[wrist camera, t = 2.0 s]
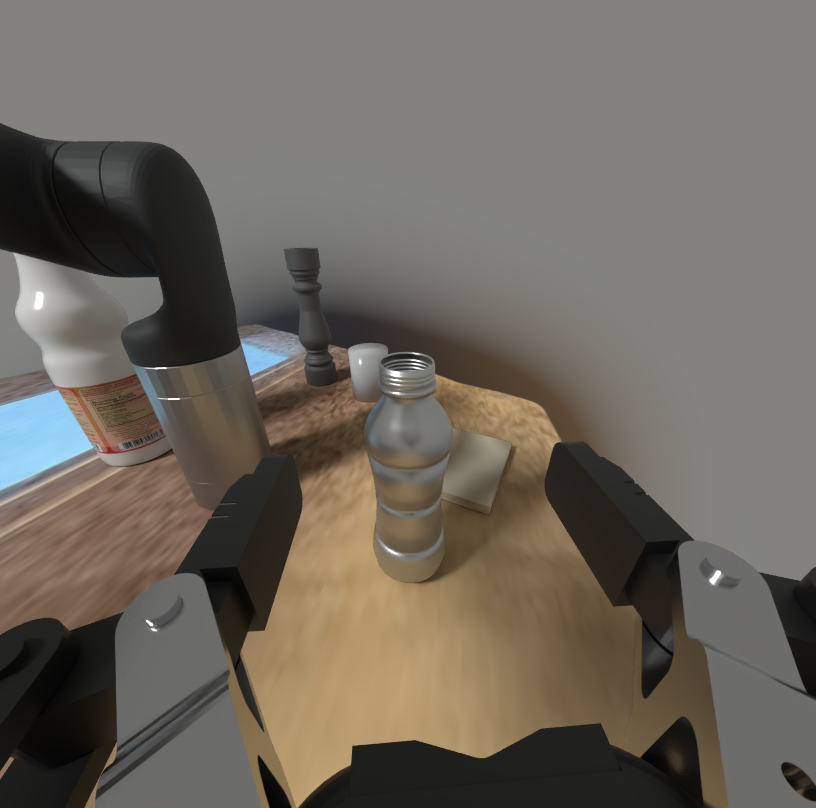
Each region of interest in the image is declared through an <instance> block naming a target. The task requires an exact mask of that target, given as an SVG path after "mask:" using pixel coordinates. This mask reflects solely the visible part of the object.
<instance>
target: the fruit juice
mask: <svg viewBox="0 0 816 808" xmlns="http://www.w3.org/2000/svg"><path fill="white" fill-rule="evenodd" d="M13 254H14V256H15V258H16V262H17V266H18V272H19V279H20V296H19V299H18V302H17V305H16V309H15V314H16V318H17V320H18V322H19V324H20V326H21V328H22V329H23V330H24V332H26V333H27V335H28V336H30V337H31V338H32V339H33V340H34V341H35V342H36V343H37V344H38V345H39V346H40V348H41V349H42V353H43V364H44V366H45V368H46V371H47V373H48V374H49V376H50V378H51V380H52V382H53V383H54V385H55V386H56V388H57V389H58V391H59V392H60V394H61V396H62V397H63V399H64V400H65V402H66V404H67V405H68V407H69V408H70V410H71V412H72V413H73V415H74V417H75V418H76V420H77V421H78V423H79V425H80V426H81V428H82V429H83V431H84V433H85V434H86V436H87V437H88V439H89V441H90V442H91V444H92V445H93V447H94V449H95V450H96V452H97V454H98V455H99V457H100V458H101V459H102V460H103V461H104V462H105V463H107V464H109V465H111V466H130V465H135V464H139V463H143V462H146V461H149V460H151V459H154V458H156V457H158V456H160V455H162V454H164V453H166V452H167V451H169V450H170V449H172V448H171V445H170V443H169V441H168V439H167V437H166V435H165V433H164V430H163V428H162V426H161V424H160V422H159V420H158V418H157V416H156V413H155V411H154V409H153V407H152V405H151V403H150V401H149V399H148V396H147V394H146V392H145V391H144V388H143V386H142V384H141V382H140V380H139V378H138V376H137V374H136V372H135V369H134V367H133V365H132V363H131V361H130V359H129V357H128V355H127V353H126V351H125V349H124V346H123V344H122V341H121V332H122V331H123V329H124V328H125V327H127V326H128V325H129V322H128V316H127V313H126V311H125V309H124V307H123V305H122V304H121V303H120V301H118V299H116V298H115V297H114V296H113V295H111V294H110V293H108V292H107V291H106V290H104V289H103V288H102V287H100V286H99V285H98V284H97V283H96V282H95V281H94V280H93V279H92V278H91V277H90V276H89V275H88V274H87V272H85V271H81V270H77V269H73V268H70V267H66V266H62V265H58V264H55V263H51V262H47V261H44V260H40V259H36V258H32V257H29V256H25V255H21V254H17V253H13Z"/></svg>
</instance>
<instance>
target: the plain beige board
mask: <svg viewBox="0 0 816 808" xmlns="http://www.w3.org/2000/svg"><path fill="white" fill-rule="evenodd" d="M452 429H453V442H452V447H451V451H450V455H449V459H448V463H447V467H446V471H445V475H444V482H443V489H442V497H441V499H444V500H447V501H449V502H452V503H455V504H458V505H461V506H464V507H467V508H470V509H472V510H475V511H478V512H481V513H484V514H487V515H489V514H490V511H491V508H492V505H493V502H494V499H495V496H496V493H497V490H498V487H499V484H500V481H501V478H502V475H503V472H504V469H505V466H506V463H507V460H508V457H509V454H510V451H511V448H512V442H508V441H503V440H499V439H495V438H491V437H487V436H483V435H479V434H475V433H471V432H467V431H463V430H459V429H455V428H452ZM372 475H373V472H372Z"/></svg>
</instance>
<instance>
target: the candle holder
mask: <svg viewBox="0 0 816 808" xmlns="http://www.w3.org/2000/svg"><path fill="white" fill-rule="evenodd" d="M284 253H285V258H286V264H287V269H288V270H289V271H290V274H291V275H292V277H293V279H294V280H295V284H294V285H293V286H292V289H293V290H294V291H296V293H297V294H298V301H299V306H300V325H299V326H300V327H299V340H300V342H301V344H302V345H303V346H304V347H305V348H306V352H308V354H307V355H306V358H305V359H304V361H305V363H306V365H305V367H304V368H305V374H306V379H307V383H308V384H309V385H312V386H325V385H329V384H332V383H334V382H335V381H336V380H337V375H336V368H335V363H334V362H333V361H332V360H333V357H332V355H331V354H330V353H329V352H328V351H327V350H328V345H329V343H330V340H331V333H330V331H329V328H328V325H327V323H326V320H325V317H324V315H323V312H322V310H321V304H320V297H319V292H320V289H321V288H322V285H321V284H320V283H318V282H317V278H318V275H319V268H320V261H319V254H318V248H289V249H284Z"/></svg>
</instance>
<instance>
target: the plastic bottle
mask: <svg viewBox="0 0 816 808" xmlns="http://www.w3.org/2000/svg"><path fill="white" fill-rule="evenodd" d="M378 368H379V380H378V389H379V391H380V392H381V393H382V394H383V395H382V396H381V397H380V398H379V400H378V401H377V402H376V404H375V405H374V406H373V408H372V410H371V412H370V413H369V415H368V417H367V420H366V423H365V427H364V440H365V446H366V450H367V453H368V457H369V461H370V465H371V468H372V472H373V477H374V484H375V490H376V498H377V510H376V524H375V528H374V535H373V548H374V552H375V555H376V558H377V561H378V563H379V565H380V567H381V568H382V570H383V571H384V572H385V573H386V574H387V575H388V576H390V577H391V578H393V579H395V580H397V581H400V582H405V583H416V582H420V581H424V580H426V579H427V578H429V577H431V576H432V575H433V574H434V573H435V572H436V571H437V569H438V568H439V566H440V564H441V561H442V559H443V556H444V552H445V534H444V529H443V525H442V515H441V497H442V489H443V482H444V475H445V471H446V467H447V463H448V459H449V455H450V451H451V447H452V442H453V429H452V425H451V421H450V418H449V416H448V415H447V413H446V412H445V410H444V409H443V407H442V406H441V404H440V403H439V402H438V401H437V400H436V398H435V397H434V396H433V395H432V394H433V393H434V392H435V390H436V379H435V364H434V359H432V358H431V357H430V356H427V355H425V354H421V353H415V352H398V353H392V354H388V355H385V356H383V357H382V358H381V359H379V364H378Z"/></svg>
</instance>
